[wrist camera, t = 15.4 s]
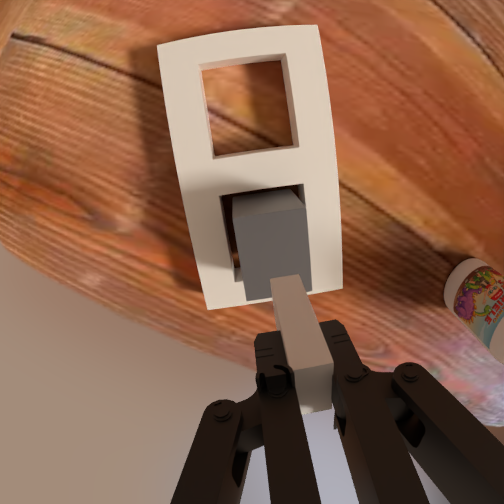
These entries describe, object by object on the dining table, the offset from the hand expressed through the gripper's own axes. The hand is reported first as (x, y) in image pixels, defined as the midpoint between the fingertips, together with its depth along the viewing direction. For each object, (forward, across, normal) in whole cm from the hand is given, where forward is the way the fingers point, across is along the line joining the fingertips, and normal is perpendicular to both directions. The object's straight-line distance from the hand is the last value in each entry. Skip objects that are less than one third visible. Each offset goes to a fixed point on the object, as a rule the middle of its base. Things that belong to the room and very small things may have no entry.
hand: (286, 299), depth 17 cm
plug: (+14, 0, -1) cm, 14 cm away
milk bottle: (+14, +25, -12) cm, 31 cm away
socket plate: (+14, 0, +5) cm, 15 cm away
